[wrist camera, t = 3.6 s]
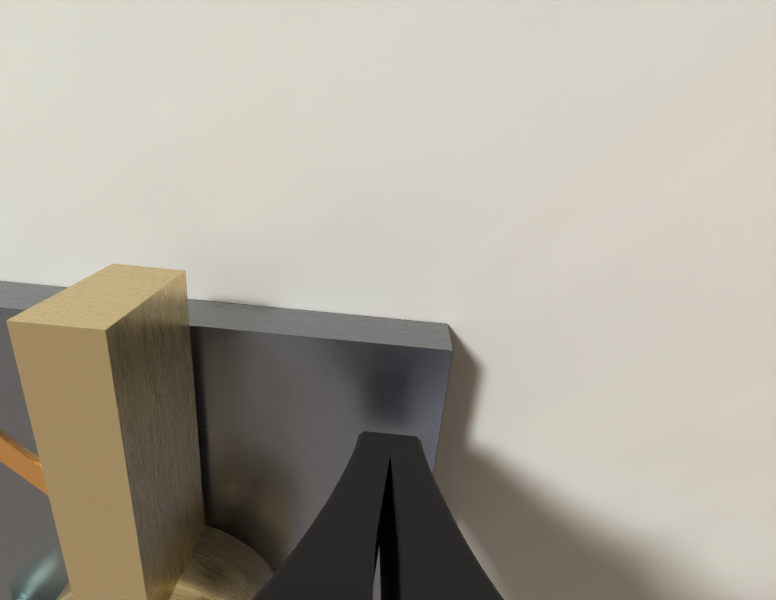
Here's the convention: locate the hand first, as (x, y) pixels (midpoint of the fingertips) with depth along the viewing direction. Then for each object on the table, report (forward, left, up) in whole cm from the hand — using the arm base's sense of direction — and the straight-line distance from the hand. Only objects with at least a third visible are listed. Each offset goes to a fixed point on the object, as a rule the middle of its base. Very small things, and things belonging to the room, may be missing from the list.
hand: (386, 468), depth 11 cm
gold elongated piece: (-3, +6, -1) cm, 6 cm away
